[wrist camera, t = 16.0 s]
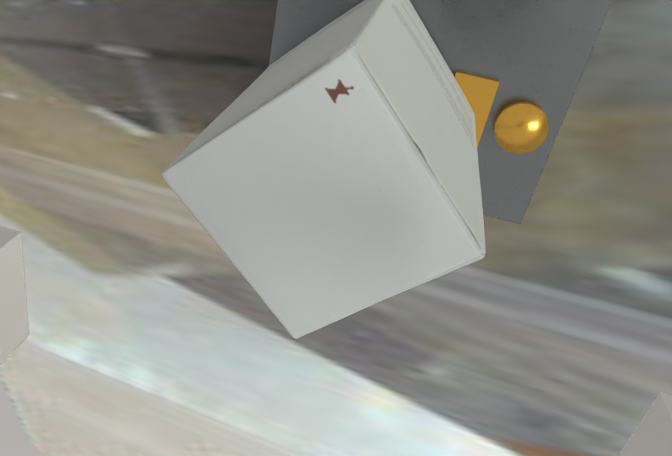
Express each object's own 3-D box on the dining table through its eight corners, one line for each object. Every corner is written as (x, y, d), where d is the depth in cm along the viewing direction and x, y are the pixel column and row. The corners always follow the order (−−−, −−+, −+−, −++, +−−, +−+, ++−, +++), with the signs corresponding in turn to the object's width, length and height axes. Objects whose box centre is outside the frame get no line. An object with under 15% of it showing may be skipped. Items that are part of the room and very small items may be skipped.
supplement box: (264, 64, 29) (147, 168, 18) (399, -26, 26) (356, 33, 15) (348, 188, 31) (290, 347, 20) (480, 118, 28) (494, 259, 17)
